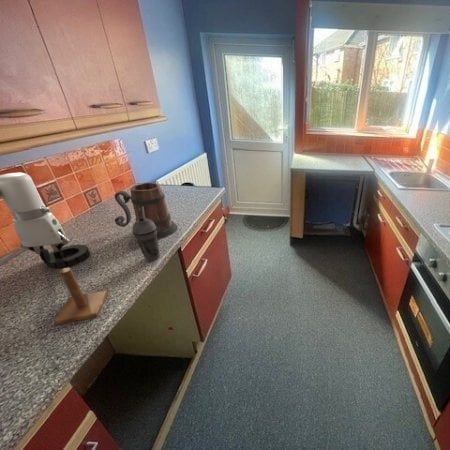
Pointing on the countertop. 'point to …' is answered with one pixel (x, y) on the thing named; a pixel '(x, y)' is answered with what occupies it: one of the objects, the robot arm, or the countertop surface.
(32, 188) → the robot arm
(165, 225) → the tankard
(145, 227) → the beverage cup
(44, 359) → the countertop surface
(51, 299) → the countertop surface
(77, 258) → the ring
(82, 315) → the stand
